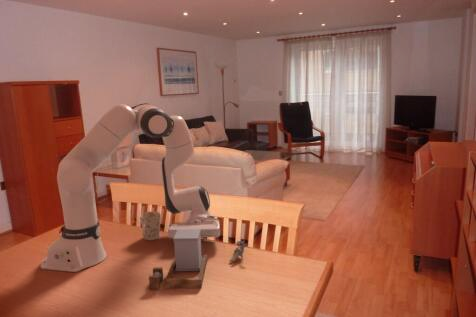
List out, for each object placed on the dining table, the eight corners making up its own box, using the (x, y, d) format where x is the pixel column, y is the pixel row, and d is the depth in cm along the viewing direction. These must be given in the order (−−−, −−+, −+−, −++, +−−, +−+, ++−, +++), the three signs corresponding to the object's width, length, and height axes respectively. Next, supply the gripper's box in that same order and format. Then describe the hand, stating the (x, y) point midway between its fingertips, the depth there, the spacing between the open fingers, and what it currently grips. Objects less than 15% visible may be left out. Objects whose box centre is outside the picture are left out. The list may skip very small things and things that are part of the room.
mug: (164, 233, 154) (162, 211, 152) (155, 246, 142) (153, 223, 140) (145, 232, 155) (144, 211, 153) (135, 246, 143) (132, 222, 141)
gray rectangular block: (175, 271, 123) (173, 238, 120) (179, 260, 130) (177, 229, 127) (199, 271, 122) (198, 238, 120) (202, 260, 130) (200, 229, 127)
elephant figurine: (219, 259, 131) (231, 242, 137) (231, 270, 131) (243, 253, 137) (232, 251, 124) (244, 233, 130) (245, 263, 124) (256, 245, 130)
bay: (149, 289, 113) (148, 277, 112) (163, 260, 131) (162, 249, 130) (201, 289, 112) (200, 276, 111) (207, 259, 130) (206, 248, 129)
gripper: (171, 217, 146) (163, 231, 133) (220, 216, 146) (218, 230, 132) (172, 231, 148) (165, 247, 134) (221, 230, 147) (219, 246, 134)
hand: (191, 238), depth 133 cm, fingers closed
